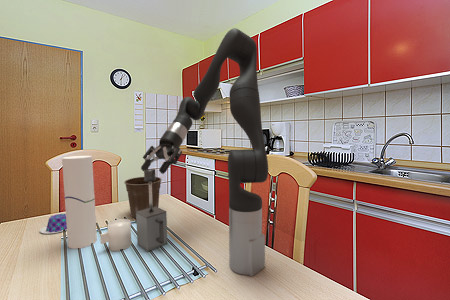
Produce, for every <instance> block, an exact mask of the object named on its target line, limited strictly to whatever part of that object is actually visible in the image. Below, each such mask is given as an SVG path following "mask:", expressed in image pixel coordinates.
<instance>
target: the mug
mask: <svg viewBox="0 0 450 300" xmlns="http://www.w3.org/2000/svg"><path fill="white" fill-rule="evenodd" d="M131 228H132V226H131V220H130V219H128V218H121V219H115V220H112V221H110V222H108V223H107V231H105V232H103V233H100V235H99V237H100V244H101V245H103V244H105V243H108V250H109V251H111V252H121V251H120V249H123V250H122V251H124V250H126V249H128V248H130V247H131V246H132V229H131Z"/></svg>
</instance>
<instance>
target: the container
mask: <svg viewBox="0 0 450 300" xmlns="http://www.w3.org/2000/svg"><path fill="white" fill-rule="evenodd" d="M61 160H62V161H61V164H62V177H63V192H64V205H65V206H64V207H65V214H66V223H67V230H66V233H67V234H66V237H67V238H66V239H67V246H68V248H69V249H73V250H76V249H78V248H79V249H83V248H86V247H89V246H92V245H93V244H96V242H97V240H98V238H97V219H96V218H97V217H96V216H97V215H96V200H95V199H96V198H95V183H94V165H93V156H92V155H73V156H64V157H61ZM91 243H93V244H92V245H91Z"/></svg>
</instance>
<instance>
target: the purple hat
mask: <svg viewBox="0 0 450 300" xmlns="http://www.w3.org/2000/svg"><path fill="white" fill-rule="evenodd" d="M64 229H65V231H67V223H66V213H58V214H57V213H56V214H54V215H52V216H50V217H49V218H48V221H47V225H45V226H43V227H42V228H40V229H39V233H42V234H45V235H46V234H48V235H49V234H50V233H52V234H57V233H60V232H63V230H64Z"/></svg>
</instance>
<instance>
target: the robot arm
mask: <svg viewBox="0 0 450 300" xmlns="http://www.w3.org/2000/svg"><path fill="white" fill-rule="evenodd" d="M257 49H258V46H257V43H256V41H255V39H253V38H252V37H251V36H250V35H248V34H246V33H245V32H244V31H242V30H240V29H239V28H236V27H233V28H231V29H230V30H228V31H227V32H226V33H225V35H224V37H223V38H222V40H221V42H220V43H219V46H218V48H217V50H216V52H215V54H214V56H213V57H212V59H211V60H212V61H211V62H210V64H209V66H208V69H207V70H206V73H205V74H204V75H203V77H202V79H201V81H200V82H199V83H198V84H197V86H196V87H195V89H194V91H193V93H192V94H193V97H194V99H193V97H191V96H185V97H183V99H182V100H181V101H180V104H179V107H178V111H177V115H176V116H175V118H174V119H173V121H172V123H171V124H170V125H169V126H168V127H167V128H166V130H165V131H164V132H163V134H162V136H161V137H160V139H159V141H158V142H159V144H158V145H157V146H156V147H155V146H153V145H151V146H150V147H149V148H148V149H147V151H146V152H145V154H143V156H142V158H143V160H144V162H143V163H142V165H141V167H140V170H141V171H142V172H144V170H145V169H150V166H151V164H152V163H154V162H158V160H164V161H163V163H162V164H161V166H160V168H159V169H158V171H159V173H160V174H162V175H164V174H165V173H166V172H167V171H168V169H169V167H170V166H172V165H177V164H178V161H179V159H180V157H181V155H182V153H183V151H182V150H181V148H180V147H181V145H182V143H183V142H184V141H185V139H186V137H187V134H188V133H189V131H190V129H191V128H192V126H193V121H199V120H201V119H202V118H203V117H204V114H205V111H206V108H207V105H208V103H209V102H210V100H212V98H213V96H214V95H215V94H216V93H217V91H218V90H219V87H220V82H221V71H222V67H223V64H224V63H225V62H226V61H227V59H229V60H231V61H234V62H235V63H237V64H238V68H239V76H238V77H237V78H236V79H235V81H234V82H233V84H232V85H231V86H230V88H229V110H230V114H231V116H232V117H233V119H234V120H235V121H236V123H237V124H238V125H239V126H240V128H241V129H242V131H243V132H244V133H245V134H246V136H247V138H248V140H249V143H250V145H251V148H252V149H250V148H249V149H231V150H230V151H229V153H228V155H227V174H228V247H229V249H228V250H229V251H228V252H229V255H228V257H229V262H228V263H229V268H230V270H231V271H233V272H234V273H236V274H239V275H242V276H243V275H246V276H250V277H253V276H255V275H256V274H258V273H259V272H260V271H261V270H262V269H265V267H266V263H265V262H266V261H265V259H266V253H265V252H266V235H265V234H264V233H263V198H262V197H261V196H260V195H259V194H257V193H254V192H252V191H249V190H246V189H244V188H243V187H242V186H241V184H257V183H264V182H266V181H267V179H268V177H269V160H268V155H267V150H266V149H267V147H266V144H265V138H264V133H263V124H262V115H261V114H262V113H261V102H260V101H261V100H260V92H259V83H258V71H257V70H258V68H257V63H258V50H257Z"/></svg>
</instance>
